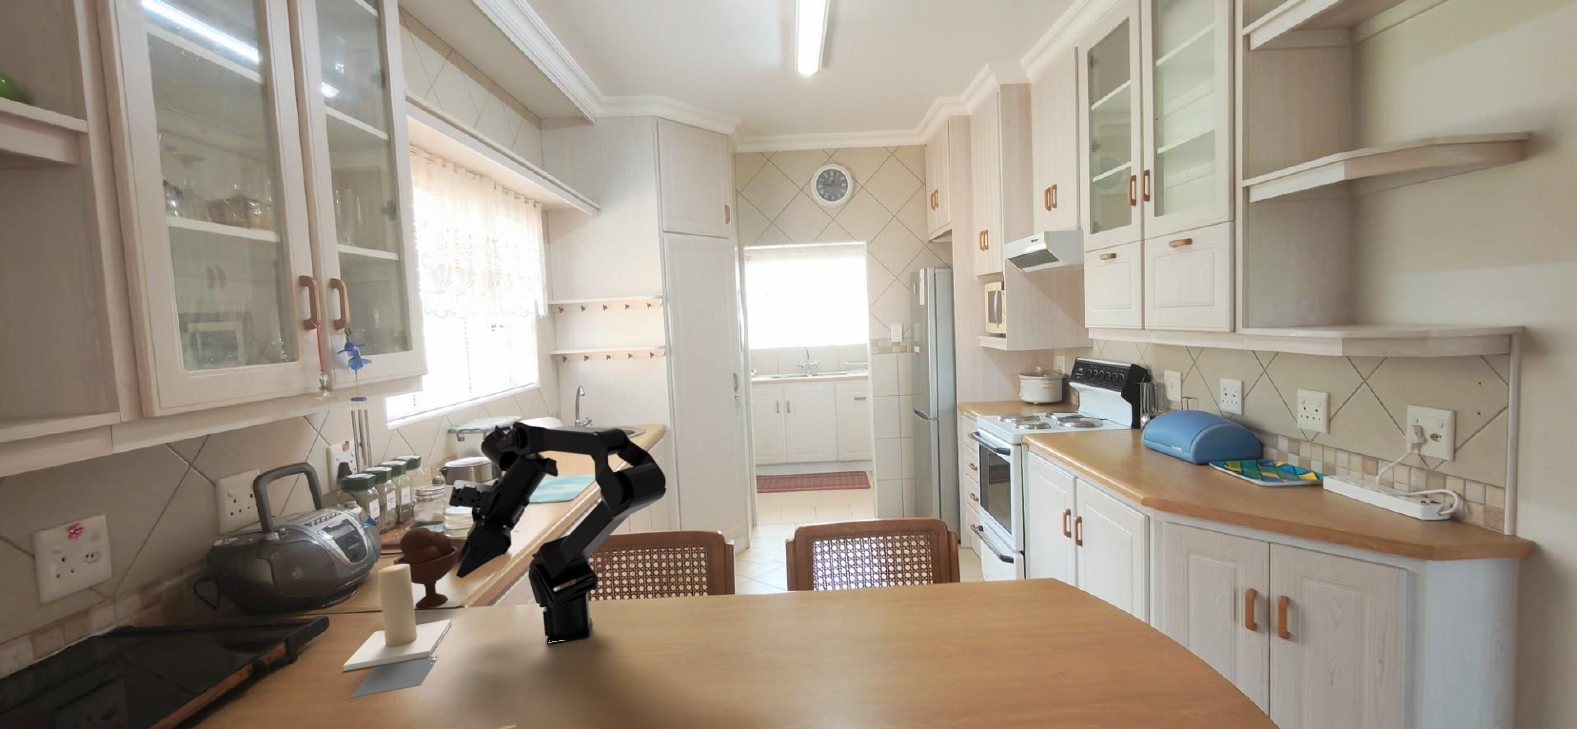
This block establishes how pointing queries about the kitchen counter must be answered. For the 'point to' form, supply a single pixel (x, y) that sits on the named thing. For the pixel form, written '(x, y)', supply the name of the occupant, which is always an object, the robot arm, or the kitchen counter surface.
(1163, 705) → the kitchen counter surface
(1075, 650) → the kitchen counter surface
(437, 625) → the cutting board
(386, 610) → the tan tapered rounded piece
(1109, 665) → the kitchen counter surface
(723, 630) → the kitchen counter surface
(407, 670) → the mat
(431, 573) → the ice cream bowl
